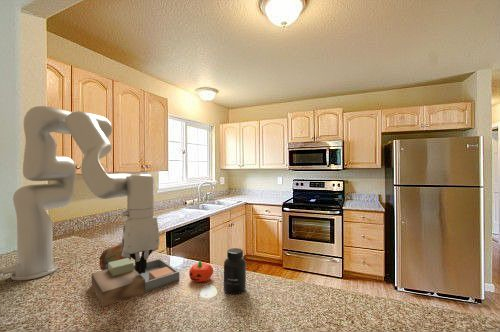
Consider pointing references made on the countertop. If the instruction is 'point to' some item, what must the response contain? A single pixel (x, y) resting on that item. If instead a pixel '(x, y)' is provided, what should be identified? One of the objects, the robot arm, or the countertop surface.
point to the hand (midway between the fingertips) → (140, 272)
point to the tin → (111, 255)
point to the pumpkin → (200, 272)
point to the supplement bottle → (234, 272)
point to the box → (160, 280)
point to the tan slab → (117, 286)
